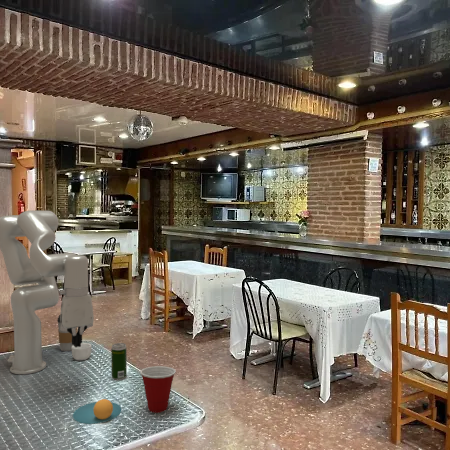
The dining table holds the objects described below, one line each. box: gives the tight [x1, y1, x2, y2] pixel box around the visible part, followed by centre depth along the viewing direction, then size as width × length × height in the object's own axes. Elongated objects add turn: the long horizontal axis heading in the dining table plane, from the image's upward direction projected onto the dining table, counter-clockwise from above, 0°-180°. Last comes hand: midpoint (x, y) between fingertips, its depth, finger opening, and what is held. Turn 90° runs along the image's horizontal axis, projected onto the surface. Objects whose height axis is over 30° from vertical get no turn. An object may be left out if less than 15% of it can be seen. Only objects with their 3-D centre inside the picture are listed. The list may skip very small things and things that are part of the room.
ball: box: [93, 398, 113, 420], centre depth 126 cm, size 6×6×6 cm
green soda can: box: [110, 342, 128, 381], centre depth 157 cm, size 5×5×12 cm
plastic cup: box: [140, 365, 177, 414], centre depth 133 cm, size 11×11×12 cm
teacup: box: [71, 342, 92, 362], centre depth 177 cm, size 10×8×5 cm
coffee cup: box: [57, 314, 78, 352], centre depth 188 cm, size 8×8×15 cm
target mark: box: [72, 401, 122, 425], centre depth 130 cm, size 14×14×1 cm
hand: (77, 345), depth 146 cm, fingers closed
